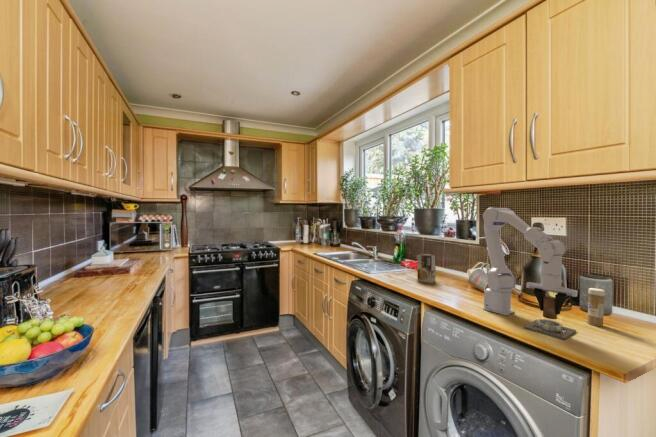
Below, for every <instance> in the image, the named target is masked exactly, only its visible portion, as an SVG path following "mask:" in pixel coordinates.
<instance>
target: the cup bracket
mask: <svg viewBox="0 0 656 437" xmlns="http://www.w3.org/2000/svg"><path fill="white" fill-rule="evenodd" d="M536 325H537V326H536ZM523 329H526V330H529V331H532V330H533V332H536V331H537V333H539V332H540V334H542V333H543V334H544V335H546V336H550V337H552V338H556V339H560V340H563V339H564V340H563V341H566V340H567V339H568V338H570V337H571V336H572V335H574V334H575V333H576V332H577V329H575V328H570V327H566V326H564V325H563V324H562V323H561V322H558V321H556V320H553V319H548V318H545V319H544V318H539V319H535V320H533V321H530V322H529V323H527V324H525V325H524V326H523ZM565 330H566V331H565ZM561 333H562V334H561ZM543 334H542V335H543ZM569 336H570V337H569ZM566 338H567V339H566ZM565 339H566V340H565Z"/></svg>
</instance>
